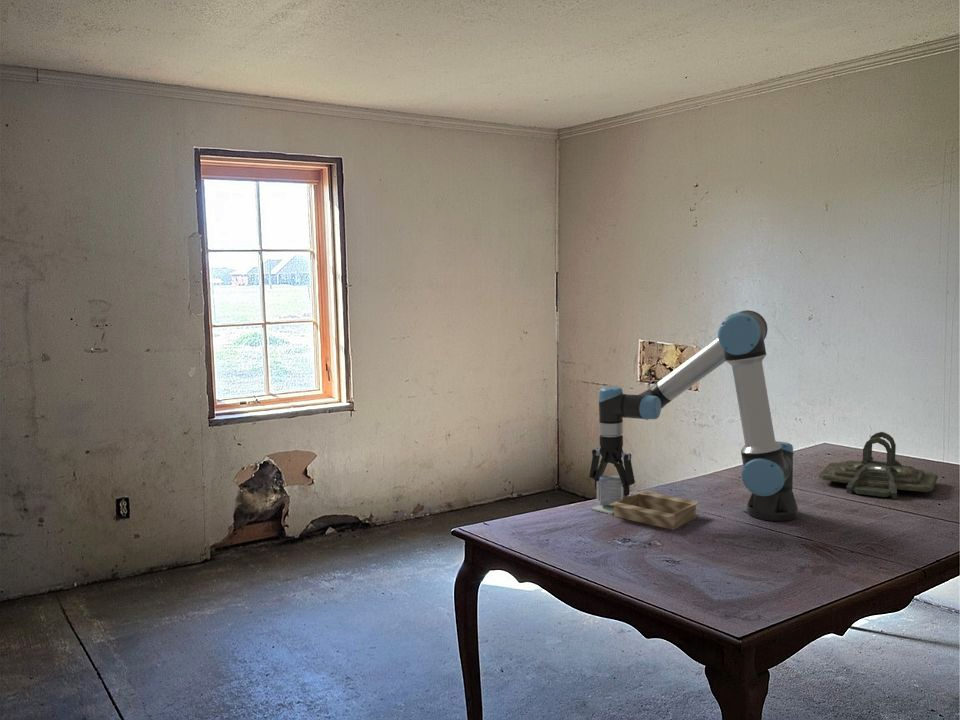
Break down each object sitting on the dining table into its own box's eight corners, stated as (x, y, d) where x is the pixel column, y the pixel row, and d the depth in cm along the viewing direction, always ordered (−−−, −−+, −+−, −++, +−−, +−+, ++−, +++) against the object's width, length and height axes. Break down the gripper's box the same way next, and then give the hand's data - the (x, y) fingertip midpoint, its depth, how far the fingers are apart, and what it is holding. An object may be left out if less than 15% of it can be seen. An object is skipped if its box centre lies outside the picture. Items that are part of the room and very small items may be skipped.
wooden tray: (700, 516, 256) (700, 502, 255) (668, 531, 242) (668, 517, 242) (642, 503, 270) (642, 490, 270) (609, 518, 256) (609, 504, 256)
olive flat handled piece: (813, 491, 279) (814, 439, 277) (833, 468, 307) (834, 421, 305) (929, 505, 260) (931, 450, 258) (939, 480, 288) (941, 430, 285)
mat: (632, 505, 269) (632, 503, 269) (611, 514, 260) (611, 512, 260) (612, 501, 274) (612, 499, 274) (591, 509, 265) (591, 508, 265)
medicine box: (623, 501, 269) (623, 475, 268) (624, 505, 264) (624, 479, 263) (599, 501, 269) (599, 475, 268) (600, 505, 265) (599, 479, 264)
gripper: (646, 436, 259) (646, 505, 262) (590, 428, 274) (591, 494, 277) (633, 440, 254) (633, 511, 257) (577, 432, 269) (578, 499, 271)
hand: (612, 502), depth 267 cm, fingers closed on medicine box, 9 cm apart
